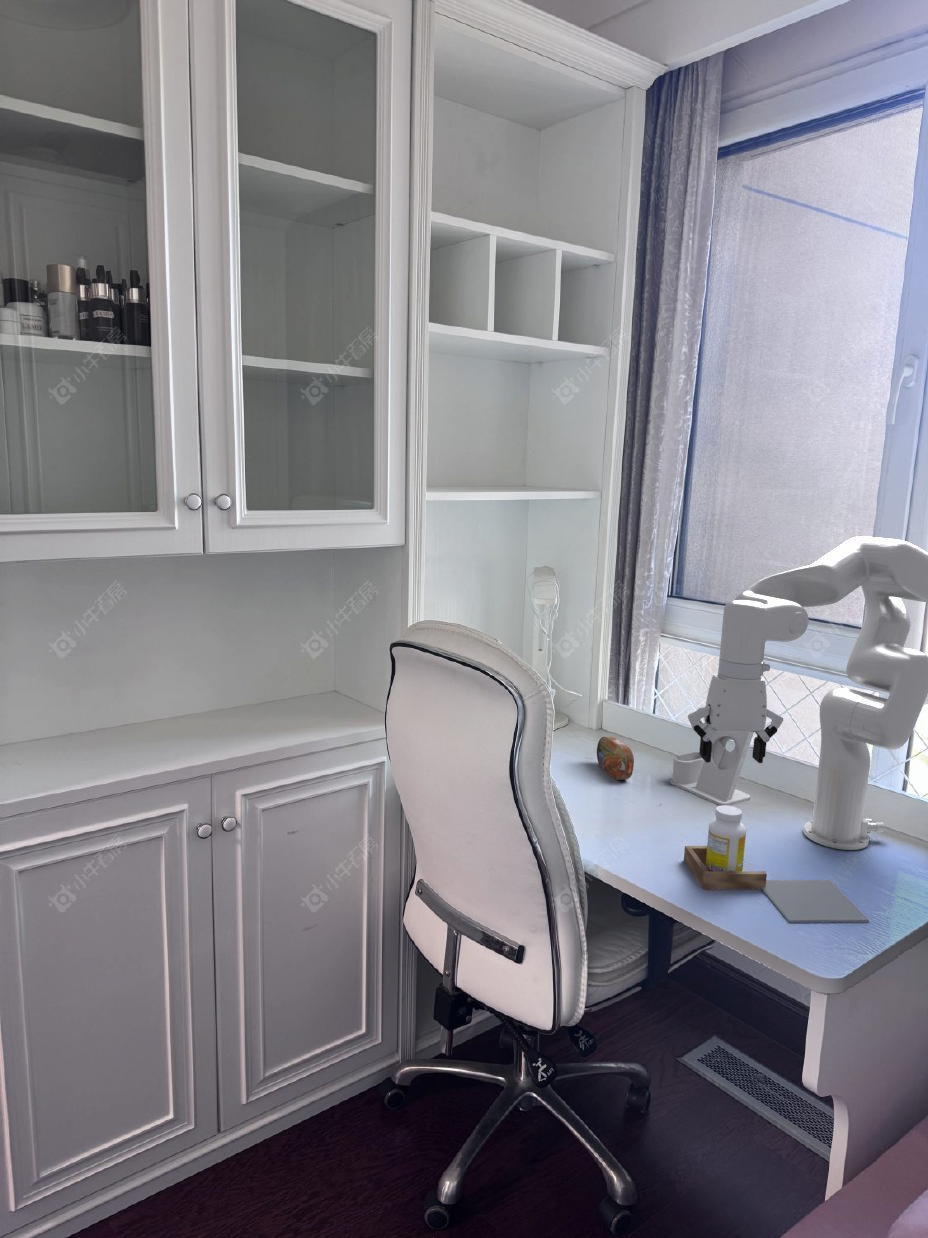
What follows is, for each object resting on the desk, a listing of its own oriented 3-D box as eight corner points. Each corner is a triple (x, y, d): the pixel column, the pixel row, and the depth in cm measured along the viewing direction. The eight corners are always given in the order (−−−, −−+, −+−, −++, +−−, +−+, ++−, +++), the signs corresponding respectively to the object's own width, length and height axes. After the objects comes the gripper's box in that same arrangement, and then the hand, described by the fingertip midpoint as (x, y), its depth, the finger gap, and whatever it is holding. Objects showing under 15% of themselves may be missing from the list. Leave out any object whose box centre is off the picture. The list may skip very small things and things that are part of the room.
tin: (594, 763, 218) (596, 732, 216) (606, 763, 219) (608, 731, 217) (622, 785, 204) (625, 751, 202) (634, 784, 205) (637, 751, 203)
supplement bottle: (734, 866, 164) (741, 803, 162) (747, 883, 158) (753, 817, 156) (700, 866, 164) (705, 802, 162) (711, 883, 158) (717, 817, 155)
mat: (828, 882, 160) (829, 880, 159) (868, 922, 146) (869, 920, 146) (755, 882, 158) (755, 880, 158) (788, 922, 145) (789, 920, 145)
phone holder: (666, 781, 207) (672, 710, 204) (695, 774, 213) (701, 704, 209) (723, 807, 193) (730, 730, 190) (752, 799, 198) (760, 724, 195)
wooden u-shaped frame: (740, 860, 167) (742, 846, 166) (765, 889, 156) (766, 874, 155) (683, 860, 166) (684, 846, 166) (703, 889, 155) (705, 874, 154)
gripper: (778, 665, 158) (769, 754, 161) (686, 663, 157) (678, 752, 160) (796, 675, 151) (786, 768, 154) (699, 673, 150) (691, 767, 153)
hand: (731, 760), depth 157 cm, fingers open, 9 cm apart
